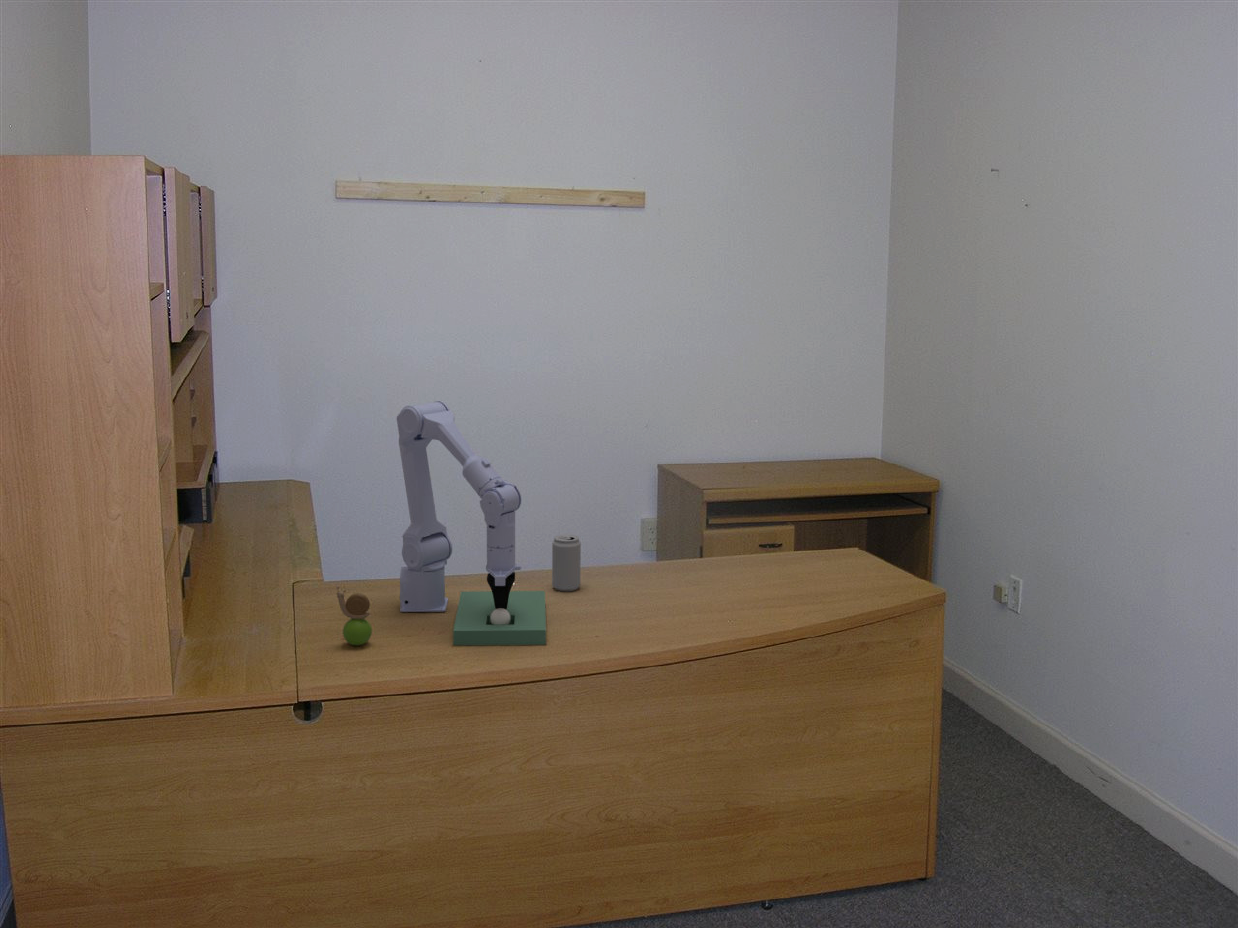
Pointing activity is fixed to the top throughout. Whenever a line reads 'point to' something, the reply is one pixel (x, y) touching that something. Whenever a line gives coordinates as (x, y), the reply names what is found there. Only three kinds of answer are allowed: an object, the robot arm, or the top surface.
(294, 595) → the top surface
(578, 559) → the beverage can
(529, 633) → the putting board
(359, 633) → the snail figurine
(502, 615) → the ball
